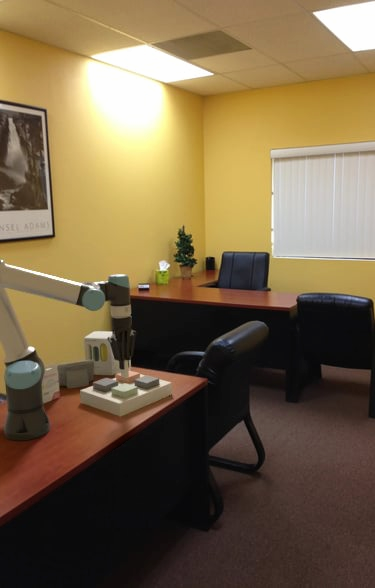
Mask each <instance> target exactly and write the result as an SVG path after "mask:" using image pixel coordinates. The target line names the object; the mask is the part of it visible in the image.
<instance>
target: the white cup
mask: <svg viewBox="0 0 375 588" xmlns="http://www.w3.org/2000/svg"><path fill="white" fill-rule="evenodd" d="M130 358H131V360H129V367H128V370H130V371H132V370H131V369H132V364H131V361H132V357H130ZM113 365H114V372H115V374H114V378H116V374H119V373H121V369H120V368H119V361H117V360H115V359H114V356H113Z"/></svg>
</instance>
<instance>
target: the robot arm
mask: <svg viewBox="0 0 375 588" xmlns="http://www.w3.org/2000/svg"><path fill="white" fill-rule="evenodd" d="M107 278H108V279H107V280H106V281H105V280H104V281H103V280H102V281H89V282H87V281H84V282H77V281H73V280H68V279H65V278H61V277H57V276H53V275H49V274H46V273H42V272H38V271H34V270H29V269H27V268H23V267H19V266H15V265H10V264H7V263H6V262H5V260H4V259H1V258H0V345H1V347H2V350H3V351H4V354H5V355H4V358H3V364H4V366H5V370H4V376H3V379H4V384H5V395H6V397H5V398H6V407H7V408H6V409H7V414H6V418H5V423H4V426H3V435H4V437H5V438H6V439H7V440H11V441H30V440H34V439H37V438H39V437H42V436H45V435H46V434H47V433H49V431H50V429H51V424H50V423H51V422H50V420H49V417H48V415H47V413H46V411H45V408H44V404H43V398H42V381H43V376H44V372H45V370H44V369H45V368H44V366H45V364H44V362H43V360H42V358H41V357H40V356H39V355H38V352H37V350H36V348H35V347H34V346H31V345H29V343H28V340H27V338H26V335H25V333H24V330H23V327H22V326H21V323H20V321H19V318H18V316H17V314H16V311H15V309H14V306H13V303H12V301H11V299H10V297H9V294H8V292H7V289H9V290H14V291H17V292H22V293H26V294H29V295H33V296H38V297H43V298H46V299H50V300H55V301H57V302H62V303H67V304H70V305H75V306H79V307H81V308H82V307H83V308H85V309H86V310H88V311H90V312H96V311H99V310H101V309H102V308H103V307H104V305H105V302H107V303H108V302H109V303H110V304H109V305H110V306H109V307H110V316H111V319H110V321H111V327H112V331H111V332H112V336H111V337H108V338H107V339H108V341H109V342H110V345H111V349H112V352H113V356H114V359H115V360H117V361H119V368H120V369H121V377H125V378H127V377H129V371H128V367H129V360H131V361H132V357H133V356H134V352H135V351H134V350H135V341H136V336H137V334H138V333H137V331H136V330H133V329H132V325H133V322H132V320H133V319H132V316H131V314H132V306H131V305H132V304H131V286H130V280H129V279H130V278H129V276H128V275H127V274H125V273H124V274H123V273H119V274H118V273H116V274H110V275H108V277H107ZM115 338H116V339H115ZM130 357H131V358H130Z"/></svg>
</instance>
